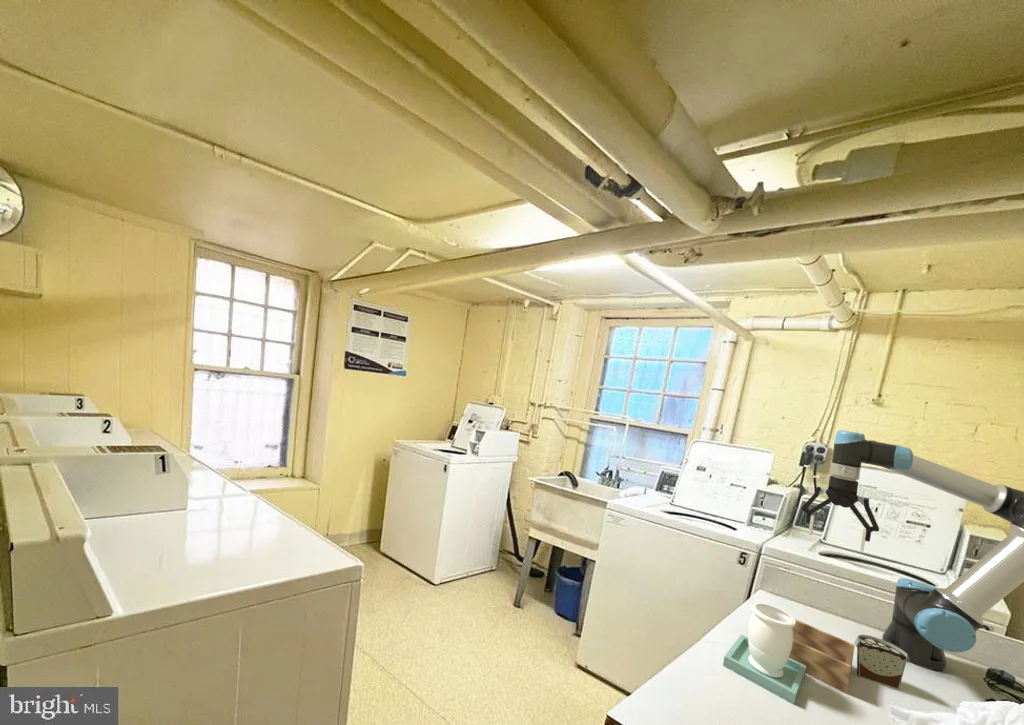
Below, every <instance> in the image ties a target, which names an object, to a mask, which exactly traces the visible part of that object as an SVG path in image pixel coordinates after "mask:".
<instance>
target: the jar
mask: <svg viewBox="0 0 1024 725" xmlns="http://www.w3.org/2000/svg"><path fill="white" fill-rule="evenodd" d="M751 611H752V613H751V615H750V618H749V622H748V628H747V629H748V630H747V634H748V636H747V637H748V638H749V640H748V643H749V650H750V654H751V655H750V656H749V657H748V660H749V662H750V664H751V665H752V666H753V667H754V668H755V669H757V670H758V671H760V672H761V673H763V674H765V675H768V676H770V677H775V678H780V677H782V676H783V670H782V669H783V668H784V666H785V665H786V663H787V661H788V658H789V655H790V652H791V649H792V645H793V629H792V628H793V627H794V626H795V620H794V619H795V618H794V617H793V616H792V615H790V613H788V612H786V611H784V610H783V609H780V608H779V607H776V606H774V605H771V604H767V603H763V602H753V603H752V604H751Z"/></svg>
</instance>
